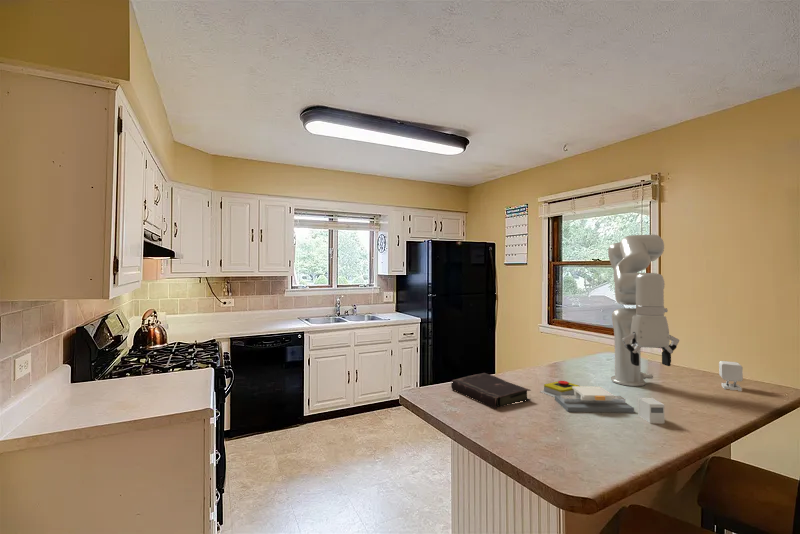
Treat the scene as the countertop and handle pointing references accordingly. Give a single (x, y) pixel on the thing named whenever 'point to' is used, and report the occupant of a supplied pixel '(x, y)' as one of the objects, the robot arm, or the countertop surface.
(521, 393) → the diary
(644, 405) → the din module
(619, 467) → the countertop surface
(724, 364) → the security camera
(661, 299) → the robot arm
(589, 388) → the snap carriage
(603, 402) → the rail mount
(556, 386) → the emergency button
